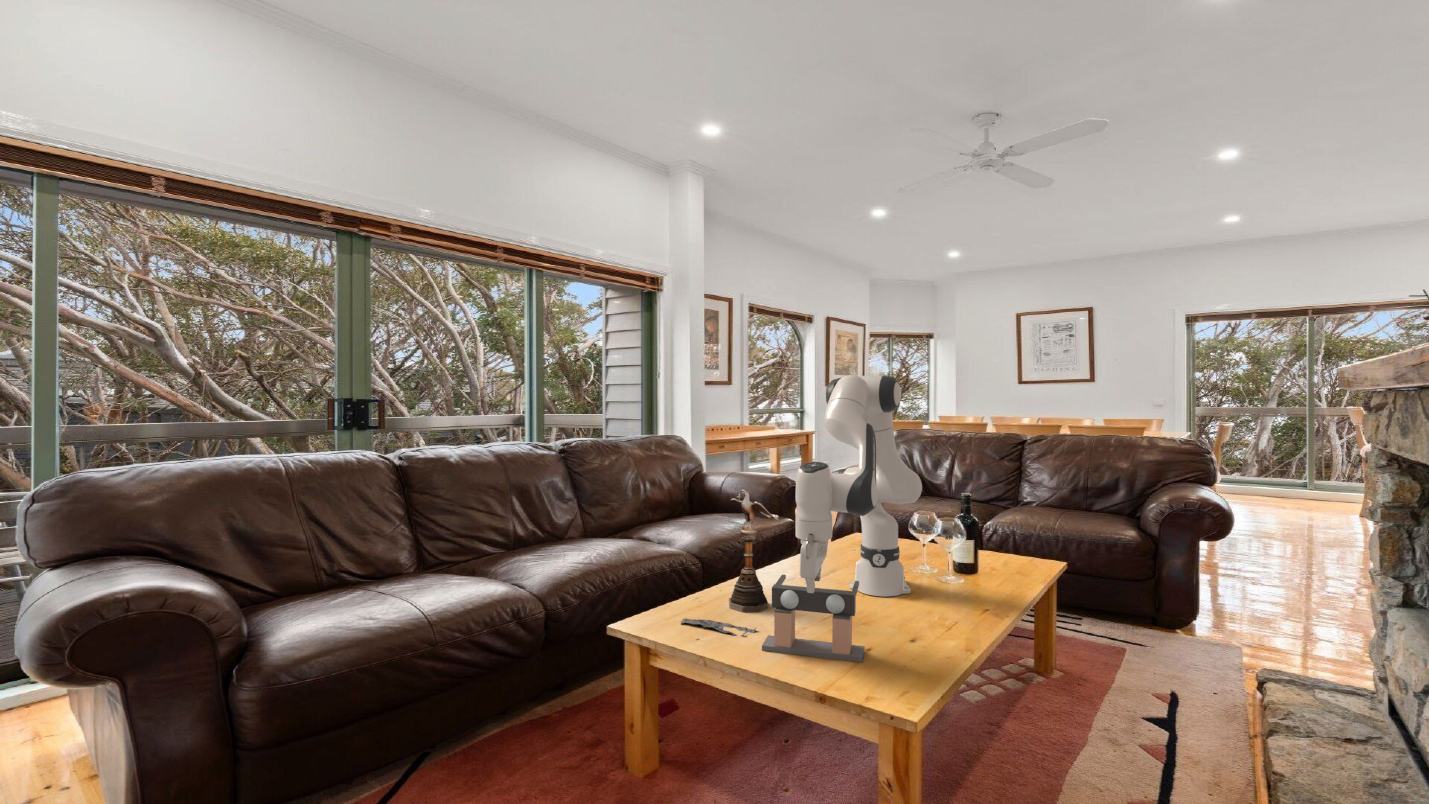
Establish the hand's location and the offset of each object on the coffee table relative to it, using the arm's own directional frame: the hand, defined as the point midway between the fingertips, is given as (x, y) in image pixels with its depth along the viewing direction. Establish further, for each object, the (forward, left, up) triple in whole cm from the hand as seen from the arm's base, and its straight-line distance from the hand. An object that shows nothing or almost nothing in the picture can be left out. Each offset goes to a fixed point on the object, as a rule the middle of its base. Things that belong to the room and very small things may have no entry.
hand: (813, 586), depth 160 cm
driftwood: (-8, -27, -17) cm, 33 cm away
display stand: (0, 0, -16) cm, 16 cm away
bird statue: (-30, -23, -16) cm, 41 cm away
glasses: (-4, 0, -6) cm, 7 cm away
